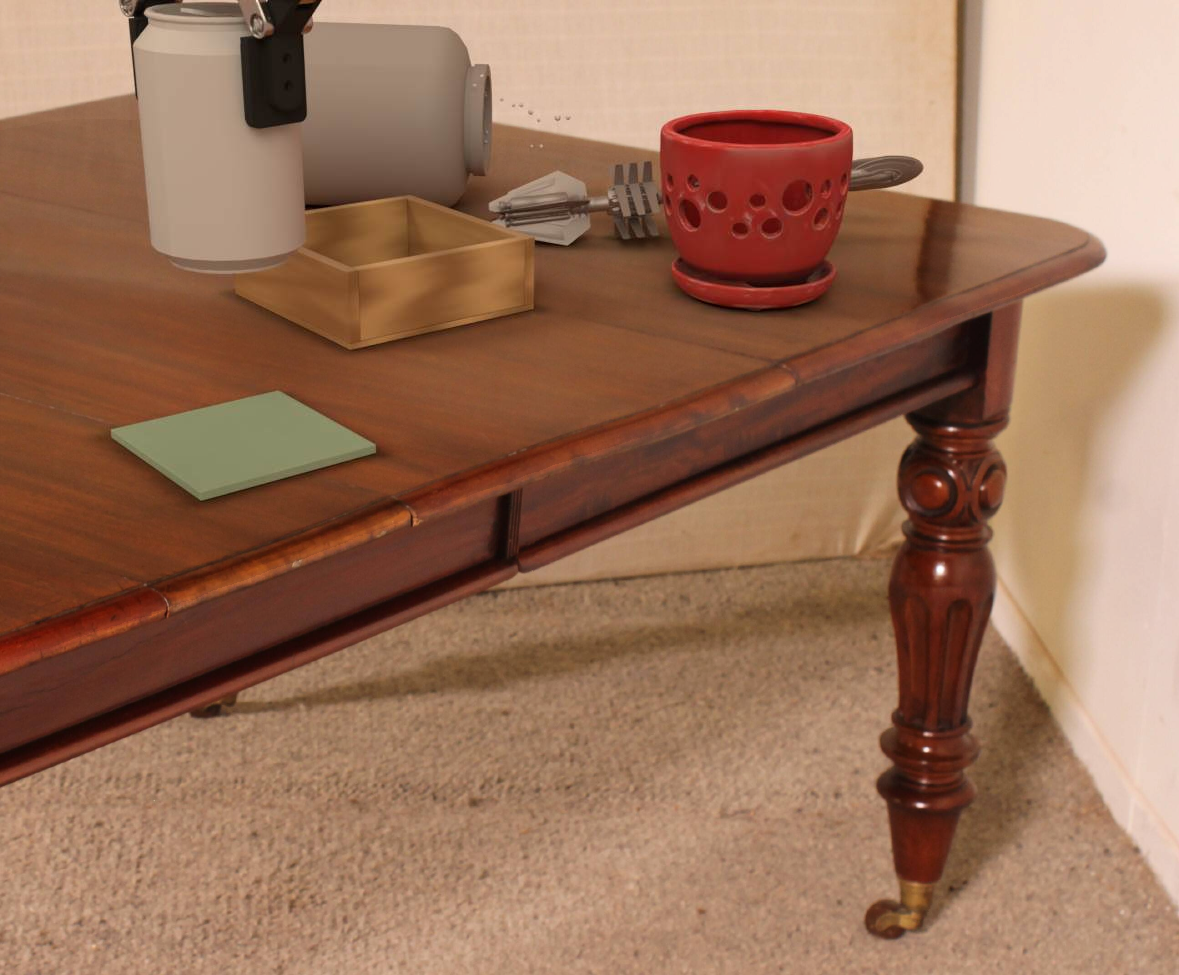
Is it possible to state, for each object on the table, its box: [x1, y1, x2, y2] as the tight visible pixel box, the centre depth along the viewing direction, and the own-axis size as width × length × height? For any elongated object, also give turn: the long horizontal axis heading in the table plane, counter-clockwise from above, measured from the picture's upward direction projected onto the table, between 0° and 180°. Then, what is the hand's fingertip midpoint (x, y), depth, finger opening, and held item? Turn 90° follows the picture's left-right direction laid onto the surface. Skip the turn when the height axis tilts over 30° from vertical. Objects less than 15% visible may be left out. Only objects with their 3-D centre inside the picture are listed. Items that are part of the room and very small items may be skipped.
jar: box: [301, 21, 571, 208], centre depth 124 cm, size 19×15×25 cm
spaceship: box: [488, 155, 924, 247], centre depth 118 cm, size 8×35×8 cm
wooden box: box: [233, 195, 536, 351], centre depth 101 cm, size 15×15×5 cm
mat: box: [110, 390, 377, 502], centre depth 78 cm, size 10×10×1 cm
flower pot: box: [659, 109, 854, 312], centre depth 104 cm, size 13×13×12 cm
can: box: [133, 1, 306, 275], centre depth 71 cm, size 8×8×12 cm
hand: (220, 109), depth 71 cm, fingers closed on can, 7 cm apart
